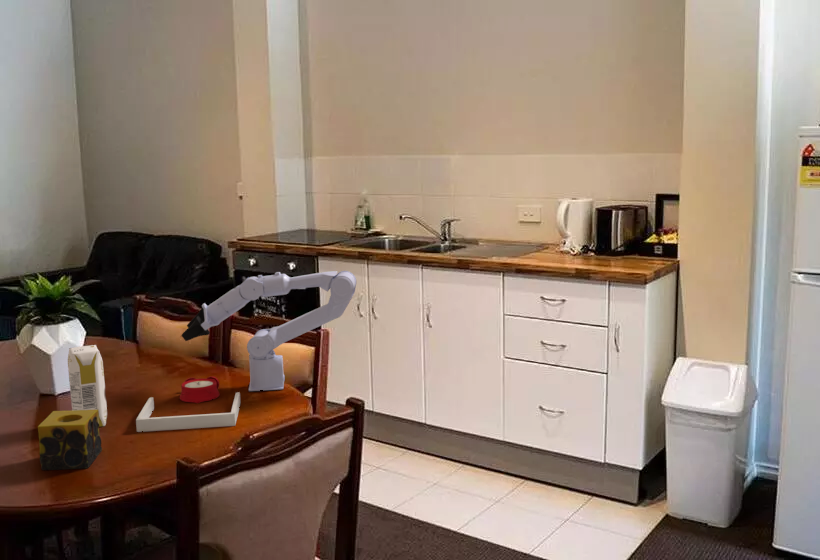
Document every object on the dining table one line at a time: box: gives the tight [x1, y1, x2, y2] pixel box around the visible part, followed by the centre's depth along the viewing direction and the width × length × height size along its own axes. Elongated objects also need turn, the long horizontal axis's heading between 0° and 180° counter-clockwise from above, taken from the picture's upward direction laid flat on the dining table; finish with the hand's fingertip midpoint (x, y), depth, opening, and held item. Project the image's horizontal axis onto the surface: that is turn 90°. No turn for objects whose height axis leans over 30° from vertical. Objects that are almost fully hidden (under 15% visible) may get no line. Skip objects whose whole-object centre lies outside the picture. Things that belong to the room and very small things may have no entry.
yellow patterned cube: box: [37, 409, 103, 471], centre depth 173 cm, size 10×10×10 cm
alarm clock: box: [179, 376, 220, 404], centre depth 219 cm, size 10×6×15 cm
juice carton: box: [67, 344, 108, 427], centre depth 196 cm, size 8×9×19 cm
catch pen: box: [135, 391, 241, 433], centre depth 201 cm, size 23×18×3 cm
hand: (186, 333), depth 223 cm, fingers open, 7 cm apart
